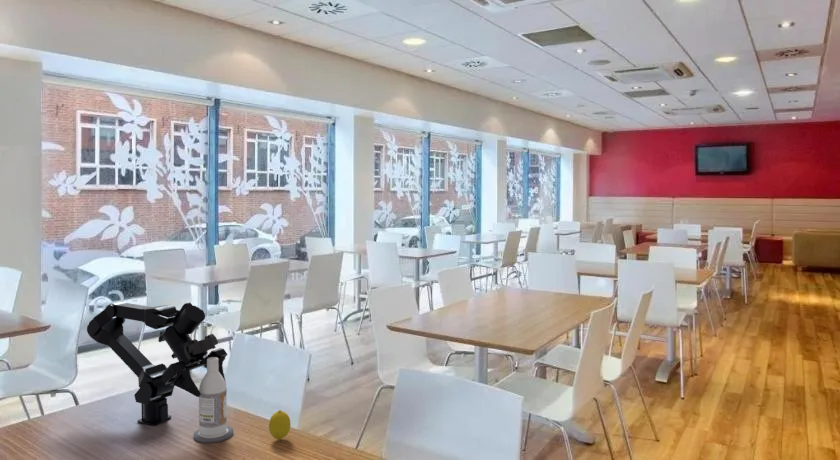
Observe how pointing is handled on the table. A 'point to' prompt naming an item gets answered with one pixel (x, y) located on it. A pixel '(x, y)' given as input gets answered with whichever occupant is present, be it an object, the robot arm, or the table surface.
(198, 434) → the dock pad
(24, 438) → the table surface
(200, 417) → the bath foam
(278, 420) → the lemon
